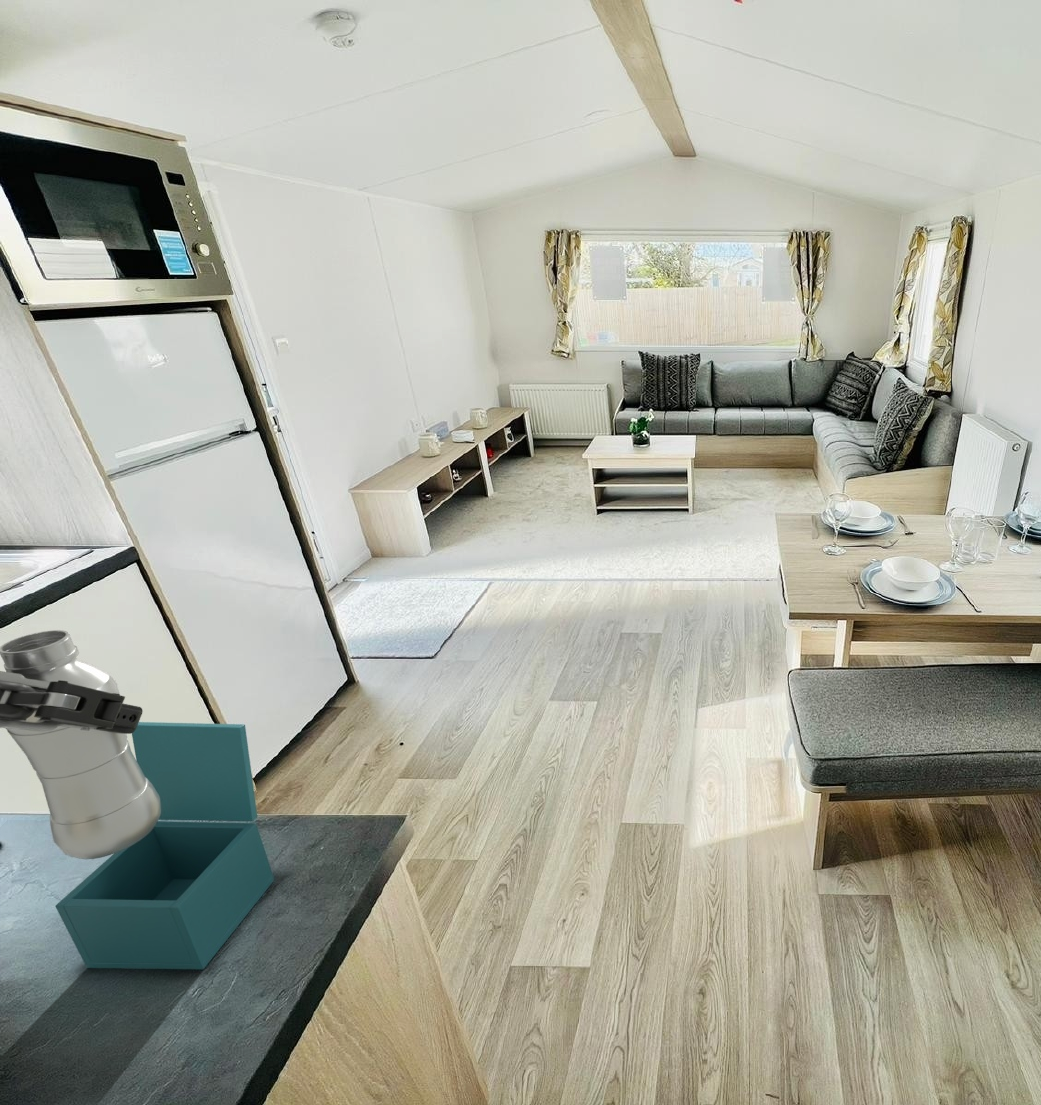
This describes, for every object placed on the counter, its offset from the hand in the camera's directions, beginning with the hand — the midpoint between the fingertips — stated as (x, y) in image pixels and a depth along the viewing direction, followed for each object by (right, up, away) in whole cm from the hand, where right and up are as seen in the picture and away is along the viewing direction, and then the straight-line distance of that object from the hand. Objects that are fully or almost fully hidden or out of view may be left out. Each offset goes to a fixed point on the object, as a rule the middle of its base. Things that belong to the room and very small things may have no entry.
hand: (91, 720), depth 52 cm
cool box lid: (-5, -10, +15) cm, 19 cm away
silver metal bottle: (0, -12, +3) cm, 12 cm away
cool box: (-6, -26, +15) cm, 31 cm away
